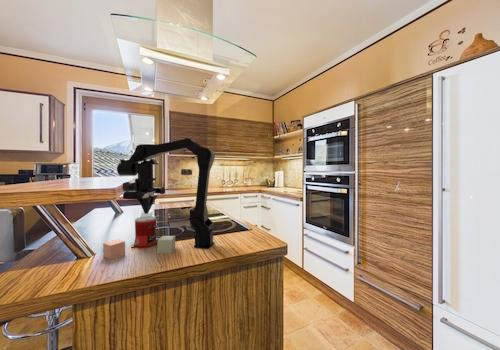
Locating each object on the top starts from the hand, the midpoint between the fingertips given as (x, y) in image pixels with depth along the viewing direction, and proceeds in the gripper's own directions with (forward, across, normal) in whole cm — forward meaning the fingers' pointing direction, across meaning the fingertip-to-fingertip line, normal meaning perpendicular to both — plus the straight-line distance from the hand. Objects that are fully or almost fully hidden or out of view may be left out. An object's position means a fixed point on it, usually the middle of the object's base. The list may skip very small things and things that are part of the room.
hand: (146, 213), depth 89 cm
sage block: (+13, +4, +12) cm, 18 cm away
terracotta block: (+13, +12, -4) cm, 18 cm away
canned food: (+13, 0, 0) cm, 13 cm away
